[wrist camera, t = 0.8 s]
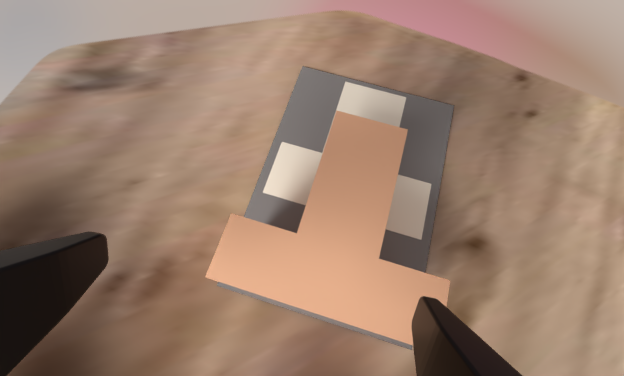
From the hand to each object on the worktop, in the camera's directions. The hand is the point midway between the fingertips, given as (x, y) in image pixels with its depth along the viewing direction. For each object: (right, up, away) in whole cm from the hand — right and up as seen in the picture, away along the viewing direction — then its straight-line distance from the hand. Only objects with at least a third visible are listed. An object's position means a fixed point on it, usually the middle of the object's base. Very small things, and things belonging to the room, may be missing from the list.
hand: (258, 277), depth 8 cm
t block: (+3, -1, +16) cm, 16 cm away
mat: (+5, +3, +17) cm, 18 cm away
